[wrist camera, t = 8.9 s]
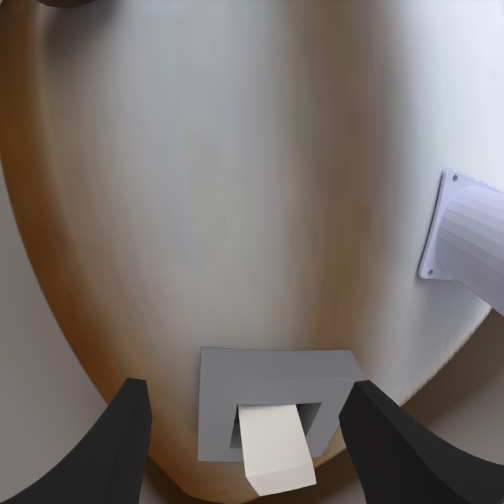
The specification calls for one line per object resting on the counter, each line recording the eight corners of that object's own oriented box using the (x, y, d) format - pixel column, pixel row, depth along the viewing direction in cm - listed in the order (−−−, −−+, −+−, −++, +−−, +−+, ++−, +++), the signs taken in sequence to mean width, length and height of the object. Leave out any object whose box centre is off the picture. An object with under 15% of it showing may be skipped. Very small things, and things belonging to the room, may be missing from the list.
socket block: (349, 349, 21) (364, 375, 18) (312, 432, 25) (320, 456, 22) (201, 346, 19) (200, 377, 17) (198, 434, 23) (197, 460, 20)
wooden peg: (287, 375, 21) (312, 462, 14) (294, 405, 23) (316, 483, 15) (236, 387, 21) (245, 477, 14) (248, 416, 23) (259, 495, 15)
